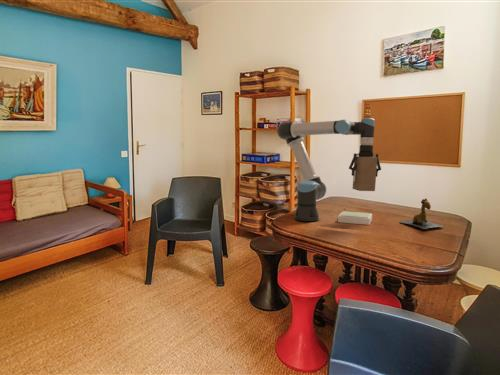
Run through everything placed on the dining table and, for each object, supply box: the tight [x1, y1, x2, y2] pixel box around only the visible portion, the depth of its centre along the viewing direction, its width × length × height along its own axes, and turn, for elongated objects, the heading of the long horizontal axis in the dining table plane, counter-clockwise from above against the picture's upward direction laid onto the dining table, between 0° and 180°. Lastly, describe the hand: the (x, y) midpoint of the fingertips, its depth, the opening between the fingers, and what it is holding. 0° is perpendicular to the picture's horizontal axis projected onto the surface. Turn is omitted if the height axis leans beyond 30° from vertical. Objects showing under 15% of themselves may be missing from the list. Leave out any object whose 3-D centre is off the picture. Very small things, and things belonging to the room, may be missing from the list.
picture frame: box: [337, 210, 373, 226], centre depth 208 cm, size 18×18×4 cm
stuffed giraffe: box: [400, 198, 445, 230], centre depth 198 cm, size 16×18×16 cm
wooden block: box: [352, 155, 378, 192], centre depth 202 cm, size 10×10×20 cm
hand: (363, 181), depth 203 cm, fingers closed on wooden block, 11 cm apart
